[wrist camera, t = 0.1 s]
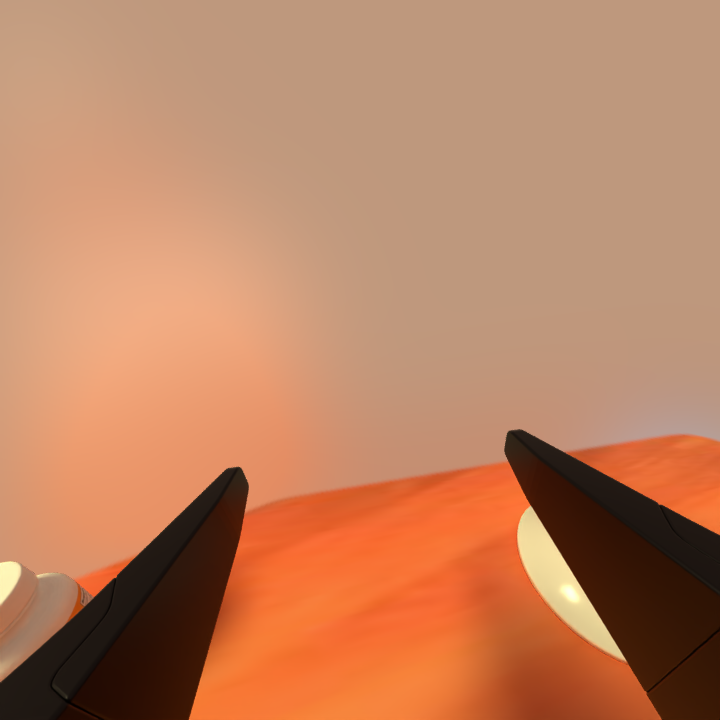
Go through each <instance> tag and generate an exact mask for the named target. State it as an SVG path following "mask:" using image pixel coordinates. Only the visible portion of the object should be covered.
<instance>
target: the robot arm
mask: <svg viewBox="0 0 720 720" xmlns="http://www.w3.org/2000/svg"><path fill="white" fill-rule="evenodd" d="M504 451H505V455H506V457H507V459H508V461H509V463H510V465H511V467H512V470H513V472H514V474H515V476H516V478H517V480H518V482H519V484H520V486H521V488H522V490H523V492H524V494H525V496H526V498H527V500H528V502H529V503H530V505H531V507H532V508H533V510H534V512H535V513H536V515H537V516H538V518H539V520H540V521H541V523H542V525H543V526H544V528H545V529H546V531H547V533H548V534H549V536H550V538H551V539H552V541H553V542H554V544H555V546H556V547H557V549H558V551H559V552H560V554H561V555H562V557H563V559H564V560H565V562H566V564H567V565H568V567H569V568H570V570H571V572H572V573H573V575H574V577H575V578H576V580H577V581H578V583H579V585H580V586H581V588H582V590H583V591H584V593H585V594H586V596H587V598H588V599H589V601H590V603H591V604H592V606H593V608H594V609H595V611H596V612H597V614H598V616H599V617H600V619H601V621H602V622H603V624H604V625H605V627H606V629H607V630H608V632H609V634H610V635H611V637H612V638H613V640H614V642H615V643H616V645H617V647H618V648H619V650H620V651H621V653H622V655H623V656H624V658H625V660H626V661H627V663H628V664H629V666H630V668H631V669H632V671H633V673H634V674H635V676H636V677H637V679H638V681H639V682H640V684H641V686H642V687H643V689H644V690H645V691H646V692H647V696H648V697H649V699H650V701H651V702H652V704H653V706H654V707H655V709H656V710H657V712H658V714H659V715H660V717H661V719H662V720H720V535H718V534H716V533H714V532H712V531H710V530H709V529H707V528H705V527H703V526H701V525H699V524H697V523H695V522H693V521H691V520H689V519H687V518H686V517H684V516H682V515H680V514H678V513H676V512H674V511H672V510H671V509H669V508H667V507H665V506H663V505H659V504H658V503H657V502H656V501H654V500H652V499H650V498H648V497H646V496H644V495H643V494H641V493H639V492H637V491H635V490H633V489H631V488H629V487H628V486H626V485H624V484H622V483H620V482H618V481H616V480H615V479H613V478H611V477H609V476H607V475H605V474H603V473H602V472H600V471H598V470H596V469H594V468H592V467H590V466H589V465H587V464H585V463H583V462H581V461H579V460H577V459H576V458H574V457H572V456H570V455H568V454H566V453H564V452H563V451H561V450H559V449H557V448H555V447H553V446H551V445H549V444H548V443H546V442H544V441H542V440H540V439H538V438H537V437H535V436H533V435H531V434H529V433H527V432H525V431H523V430H520V429H518V430H511V431H509V432H508V433H507V437H506V442H505V449H504ZM248 490H249V485H248V482H247V479H246V477H245V475H244V473H243V471H242V469H241V468H240V467H233V468H228V469H226V470H225V471H224V472H223V473H222V474H221V475H220V476H219V477H218V478H217V479H216V480H215V481H214V482H212V483H211V485H209V486H208V487H207V488H206V490H204V491H203V492H202V493H201V494H200V495H199V496H198V497H197V498H196V499H195V500H194V501H193V502H192V503H191V504H190V505H189V506H188V507H187V508H186V509H185V510H184V511H183V512H182V513H181V514H180V515H179V516H177V517H176V518H175V519H174V520H173V521H172V522H171V523H170V524H169V525H168V526H167V527H166V528H165V529H164V530H163V531H162V532H161V533H160V534H159V535H158V536H157V537H156V538H155V539H154V540H153V541H152V542H151V543H150V544H149V545H148V546H147V547H146V548H145V549H144V550H142V551H141V552H140V553H139V554H138V555H137V556H136V557H135V558H134V559H133V560H132V561H131V562H130V563H129V564H128V565H127V566H126V567H125V568H124V569H123V570H122V571H121V572H120V573H119V574H118V575H117V577H116V578H114V579H113V580H111V581H110V582H109V583H108V584H107V585H106V586H105V587H104V588H103V589H102V590H101V591H100V592H99V593H98V594H97V595H96V596H95V597H94V598H93V599H92V600H91V601H90V602H89V603H88V604H86V605H85V606H84V607H83V608H82V609H81V610H80V611H79V612H78V613H77V614H76V615H75V616H74V617H73V618H72V619H71V620H69V621H68V622H67V623H66V624H65V625H64V626H63V627H62V628H61V629H60V630H58V631H57V632H56V633H55V634H54V635H53V636H52V637H51V638H50V639H48V640H47V641H46V642H45V643H44V644H43V645H42V646H41V647H40V648H38V649H37V650H36V651H35V652H34V653H33V654H32V655H31V656H29V657H28V658H27V659H26V660H25V661H24V662H23V663H21V664H20V665H19V666H18V667H17V668H16V669H15V670H14V671H12V672H11V673H10V674H9V675H8V676H7V677H6V678H5V679H3V680H2V681H1V682H0V720H189V717H190V714H191V710H192V707H193V703H194V699H195V696H196V692H197V689H198V685H199V682H200V678H201V675H202V671H203V668H204V664H205V660H206V657H207V653H208V650H209V646H210V643H211V639H212V636H213V632H214V629H215V625H216V621H217V618H218V614H219V611H220V607H221V604H222V600H223V597H224V593H225V590H226V586H227V583H228V579H229V575H230V572H231V568H232V565H233V561H234V558H235V554H236V551H237V547H238V543H239V539H240V535H241V530H242V524H243V518H244V513H245V507H246V501H247V495H248Z"/></svg>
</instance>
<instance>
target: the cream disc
mask: <svg viewBox="0 0 720 720" xmlns="http://www.w3.org/2000/svg"><path fill="white" fill-rule="evenodd" d="M517 548H518V552H519V557H520V560H521V562H522V565H523V568H524V570H525V572H526V574H527V576H528V578H529V580H530V581H531V583H532V585H533V587H534V588H535V590H536V591H537V593H538V594H539V595H540V597H541V598H542V600H543V601H544V602H545V603H546V604H547V606H548V607H549V608H550V609H551V610H552V612H553V613H554V614H555V615H556V616H557V617H558V618H559V619H560V620H561V621H562V622H563V623H564V624H565V625H567V626H568V627H569V628H570V629H571V630H572V631H573V632H574V633H576V634H577V635H578V636H580V637H581V638H582V639H583V640H585V641H586V642H587V643H589V644H590V645H592V646H593V647H595V648H596V649H598V650H600V651H601V652H603V653H604V654H606V655H608V656H610V657H612V658H614V659H616V660H618V661H620V662H622V663H625V664H627V665H629V664H628V663H627V661H626V660H625V658H624V656H623V655H622V653H621V651H620V650H619V648H618V647H617V645H616V643H615V642H614V640H613V638H612V637H611V635H610V634H609V632H608V630H607V629H606V627H605V625H604V624H603V622H602V621H601V619H600V617H599V616H598V614H597V612H596V611H595V609H594V608H593V606H592V604H591V603H590V601H589V599H588V598H587V596H586V594H585V593H584V591H583V590H582V588H581V586H580V585H579V583H578V581H577V580H576V578H575V577H574V575H573V573H572V572H571V570H570V568H569V567H568V565H567V564H566V562H565V560H564V559H563V557H562V555H561V554H560V552H559V551H558V549H557V547H556V546H555V544H554V542H553V541H552V539H551V538H550V536H549V534H548V533H547V531H546V529H545V528H544V526H543V525H542V523H541V521H540V520H539V518H538V516H537V515H536V513H535V512H534V510H533V508H532V507H531V506H530V507H529V508H528V509H527V510H526V511H525V512H524V514H523V515H522V517H521V520H520V523H519V526H518V531H517Z"/></svg>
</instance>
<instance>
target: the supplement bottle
mask: <svg viewBox="0 0 720 720" xmlns="http://www.w3.org/2000/svg"><path fill="white" fill-rule="evenodd" d="M93 598H94V597H93V596H92V595H91V594H89V593H88V592H87V591H86V590H85V589H84V588H82V587H81V586H80V585H79V584H78V583H77V582H75V581H74V580H73V579H72V578H70V577H69V576H67V575H65V574H61V573H45V574H40V575H37V576H36V575H35V573H34V572H32V571H30V570H29V569H28V568H26V567H25V566H23V565H22V564H20V563H17V562H12V561H11V562H3V563H0V682H1V681H2V680H3V679H5V678H6V677H7V676H8V675H9V674H10V673H11V672H12V671H14V670H15V669H16V668H17V667H18V666H19V665H20V664H21V663H23V662H24V661H25V660H26V659H27V658H28V657H29V656H31V655H32V654H33V653H34V652H35V651H36V650H37V649H38V648H40V647H41V646H42V645H43V644H44V643H45V642H46V641H47V640H48V639H50V638H51V637H52V636H53V635H54V634H55V633H56V632H57V631H58V630H60V629H61V628H62V627H63V626H64V625H65V624H66V623H67V622H68V621H69V620H71V619H72V618H73V617H74V616H75V615H76V614H77V613H78V612H79V611H80V610H81V609H82V608H83V607H84V606H85V605H86V604H88V603H89V602H90V601H91V600H92V599H93Z"/></svg>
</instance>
